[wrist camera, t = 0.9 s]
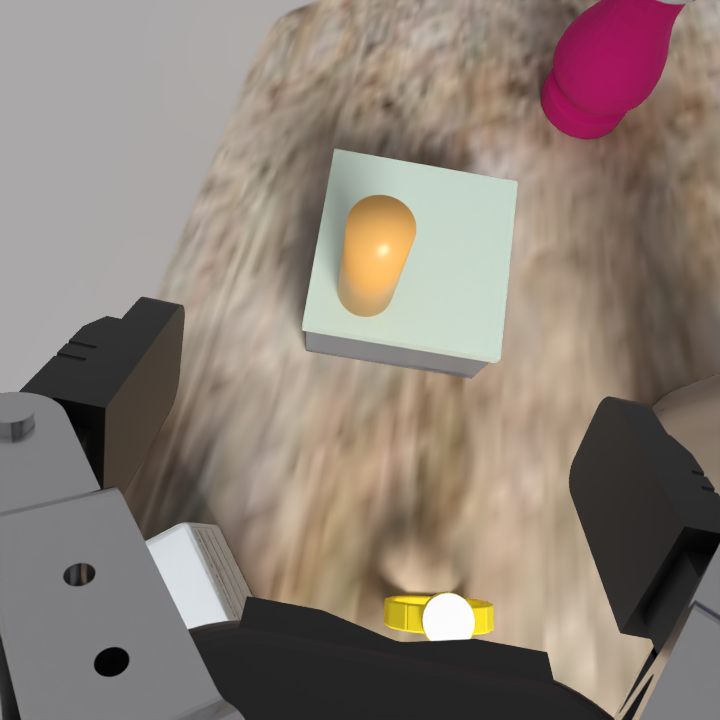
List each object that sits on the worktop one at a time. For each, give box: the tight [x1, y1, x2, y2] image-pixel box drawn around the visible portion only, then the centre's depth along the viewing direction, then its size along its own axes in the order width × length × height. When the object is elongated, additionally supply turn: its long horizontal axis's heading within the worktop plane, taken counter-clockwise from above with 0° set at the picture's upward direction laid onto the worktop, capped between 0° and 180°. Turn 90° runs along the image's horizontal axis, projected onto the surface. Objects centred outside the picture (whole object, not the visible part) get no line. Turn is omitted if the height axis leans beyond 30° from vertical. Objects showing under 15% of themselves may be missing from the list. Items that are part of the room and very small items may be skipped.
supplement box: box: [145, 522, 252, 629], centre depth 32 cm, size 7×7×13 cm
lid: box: [302, 149, 518, 363], centre depth 35 cm, size 11×11×10 cm
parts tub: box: [306, 331, 489, 378], centre depth 42 cm, size 11×11×5 cm
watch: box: [384, 592, 494, 641], centre depth 37 cm, size 6×3×6 cm, turn 88°
